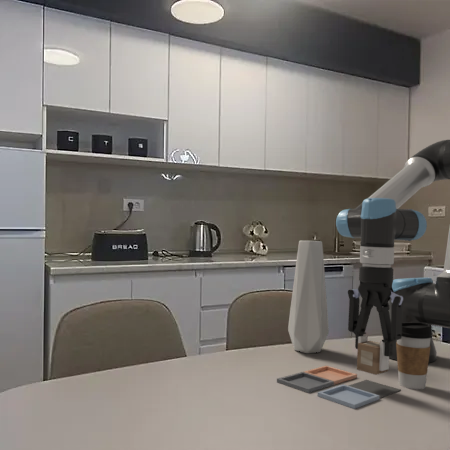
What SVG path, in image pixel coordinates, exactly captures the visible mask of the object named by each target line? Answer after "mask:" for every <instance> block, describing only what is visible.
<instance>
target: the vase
mask: <svg viewBox="0 0 450 450" xmlns="http://www.w3.org/2000/svg"><path fill="white" fill-rule="evenodd" d="M323 246H324V245H323V241H321V240H305V239H304V240H299V241H298V247H297V253H296V260H295V261H296V262H295V270H294V277H293V284H292V285H293V287H292V294H291V302H290V308H289V316H288V317H289V318H288V327H287V330H288V334H289V338H290V341H291V344H292V346H293V350H294V351H295V352H296V351H297V352H299V351H300V353H305V354H315V353H316V352H317V353H321V352H322V349H323V346H324V345H325V343H326V341H327V337H328V335H329V331H330V329H329V317H328V302H327V287H326V275H325V274H326V273H325V264H324V263H325V261H324V248H323ZM317 353H316V354H317Z"/></svg>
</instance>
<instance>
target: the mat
mask: <svg viewBox="0 0 450 450" xmlns="http://www.w3.org/2000/svg"><path fill="white" fill-rule="evenodd" d="M348 386H350V387H354V388H357V389H360V390H363V391H367V392H370V393H373V394H376V395H379V400H380V399H382V398H386V397H388V396H390V395H393V394H395V393H398V392H401V389H400V388H396V387H393V386H390V385H386V384H383V383H380V382H376V381H372V380H369V379H364V380H361V381H359V382H355V383H352V384H348Z"/></svg>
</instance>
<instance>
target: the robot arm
mask: <svg viewBox="0 0 450 450" xmlns="http://www.w3.org/2000/svg"><path fill="white" fill-rule="evenodd" d="M445 180H450V139H443V140H440V141H436V142H434V143H432V144H430V145H428V146H425V148H424V147H423V149H421V150H419V151H418V152H417V153H415V154H413V155H412V156H411V157H409V159H408V160H407V161H405V163H404V166H403V168H402V169H401V170H400V171H398V172H397V173H396V174H395V175H394V176H392V177H391V178H390V179H389V180H387V181H386V182H385V183H384V184H383V185H382V186H381V187H379V188H378V189H377V190H376V191H375V192H373V193H371V195H370V196H368V197H367V198H365V199H363V201H362V203H360V204H359V205H358V206H356V207H355V208H348V209H343V210H341V211H339V213H338V215H337V216H336V219H335V220H336V221H335V225H336V229H337V232H338V233H339V235H341V236H342V237H345V238H351V239H360V244H359V245H360V247H359V248H360V249H359V263H360V264H362V265H360V266H359V270H358V271H359V272H358V274H359V275H358V281H359V285H358V287H357V288H355V289H353V288H352V289H347V295H348V300H349V302H348V303H349V305H348V321H347V326H348V327H347V330H348V332H350V333H353V334H354V335H355V340H354V341H355V344H354V345H355V350H358V343H362V342H367V341H369V340H368V335H366V334H367V332H366V330H367V327H368V322H369V318H370V316H371V313H372V311H371V310H372V308H374V307H375V308H376V311H377V312H378V317H379V323H380V328H381V333H382V339H381V340H380V342H379V343H380V363H379V370H380V371H384V370H388V371H389V369H390V368H389V367H390V359H392V360H394V361H397V349H396V342H397V340H399V339H401V337H402V323H405V322H421V323H428V324H431V325H432V326H437V327H440V328H447V329H450V225H449V226H448V227H449V229H448V234H447V235H448V236H447V244H446V249H445V257H444V264H443V271H442V272H441V273H440V274H437V275H436V279H435V283H434V280H433V278H432V277H408V278H407V277H404V278H396V279H395V278H394V268H393V267H392V266H393V265H394V263H395V241H408V242H411V241H416V240H419V239H421V238H422V237H423V236H424V235H425V233H426V231H427V227H428V226H427V219H426V216H424V213H422V212H420V211H419V210H414V209H413V208H411V209H410V208H409V209H408V208H407V209H406V208H401V207H402V206H403V205H404V204H405V203H407V201H408V200H409V199H411V198H412V197H413V196H414V195H415V194H417V192H418V191H419V190H421V189H422V188H424V187H428V186H430V185H431V184H432V183H433V182H437V181H445ZM360 298H361V299H360ZM360 301H361V303H360ZM430 346H431V347H430V355H429V362H428V363H432V362H435V361H437V349H436V346H435V343H434V339H433V337H432V338H431V339H430Z"/></svg>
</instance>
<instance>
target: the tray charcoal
mask: <svg viewBox="0 0 450 450" xmlns="http://www.w3.org/2000/svg"><path fill="white" fill-rule="evenodd" d="M276 383H278V384H281V385H284V386H287V387H289V388H293V389H296V390H298V391H301V392H304V393H306V394H309V393H313V392H316V391H319V390H323V389H325V388H328V387H333V386H335V385H334V381H331V380H328V379H324V378H321V377H318V376H315V375H311V374H308V373H305V372H304V371H300V372H297V373H293V374H289V375H286V376H282V377H278V378H276Z"/></svg>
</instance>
